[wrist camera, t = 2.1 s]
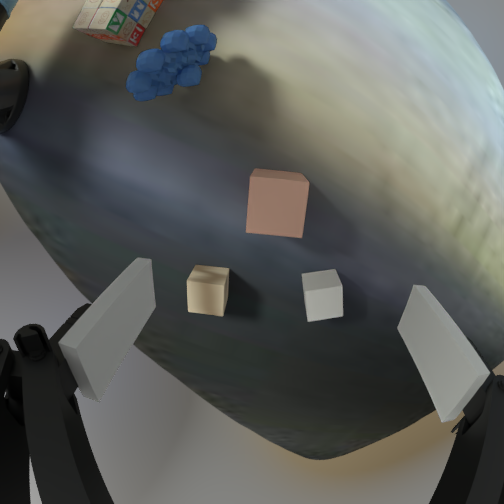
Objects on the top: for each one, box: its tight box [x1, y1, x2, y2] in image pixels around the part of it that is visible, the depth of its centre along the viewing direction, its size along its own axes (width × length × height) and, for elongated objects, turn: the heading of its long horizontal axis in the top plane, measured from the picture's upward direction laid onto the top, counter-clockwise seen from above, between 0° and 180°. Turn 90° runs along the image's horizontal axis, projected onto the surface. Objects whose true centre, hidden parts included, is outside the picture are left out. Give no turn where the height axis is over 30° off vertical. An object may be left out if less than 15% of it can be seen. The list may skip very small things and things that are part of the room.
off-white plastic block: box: [302, 269, 343, 322], centre depth 39 cm, size 5×5×5 cm
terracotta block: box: [246, 168, 309, 238], centre depth 32 cm, size 6×6×8 cm
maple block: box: [187, 265, 229, 316], centre depth 39 cm, size 5×5×5 cm
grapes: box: [126, 25, 217, 101], centre depth 25 cm, size 12×7×12 cm, turn 133°
